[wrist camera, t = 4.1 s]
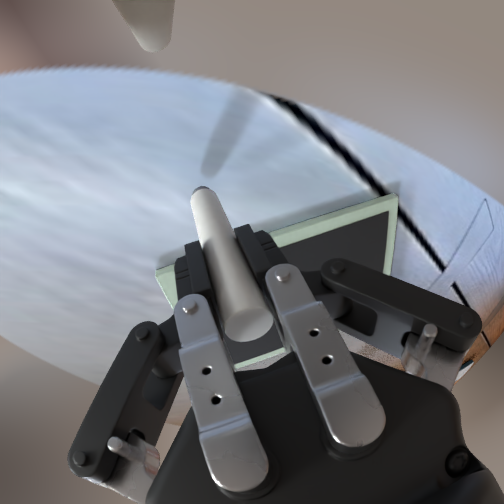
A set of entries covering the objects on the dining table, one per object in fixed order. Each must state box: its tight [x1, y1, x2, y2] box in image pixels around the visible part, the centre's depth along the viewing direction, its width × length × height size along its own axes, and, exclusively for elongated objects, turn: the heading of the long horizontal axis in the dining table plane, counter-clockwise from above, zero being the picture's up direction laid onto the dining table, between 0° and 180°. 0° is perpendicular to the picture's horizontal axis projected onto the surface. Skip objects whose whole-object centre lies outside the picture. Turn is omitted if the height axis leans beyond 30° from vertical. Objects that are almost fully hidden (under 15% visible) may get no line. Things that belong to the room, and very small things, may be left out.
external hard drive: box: [456, 360, 474, 381], centre depth 81 cm, size 24×12×2 cm, turn 80°
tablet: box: [156, 193, 398, 369], centre depth 28 cm, size 16×23×1 cm
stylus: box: [191, 186, 274, 342], centre depth 15 cm, size 2×2×12 cm
